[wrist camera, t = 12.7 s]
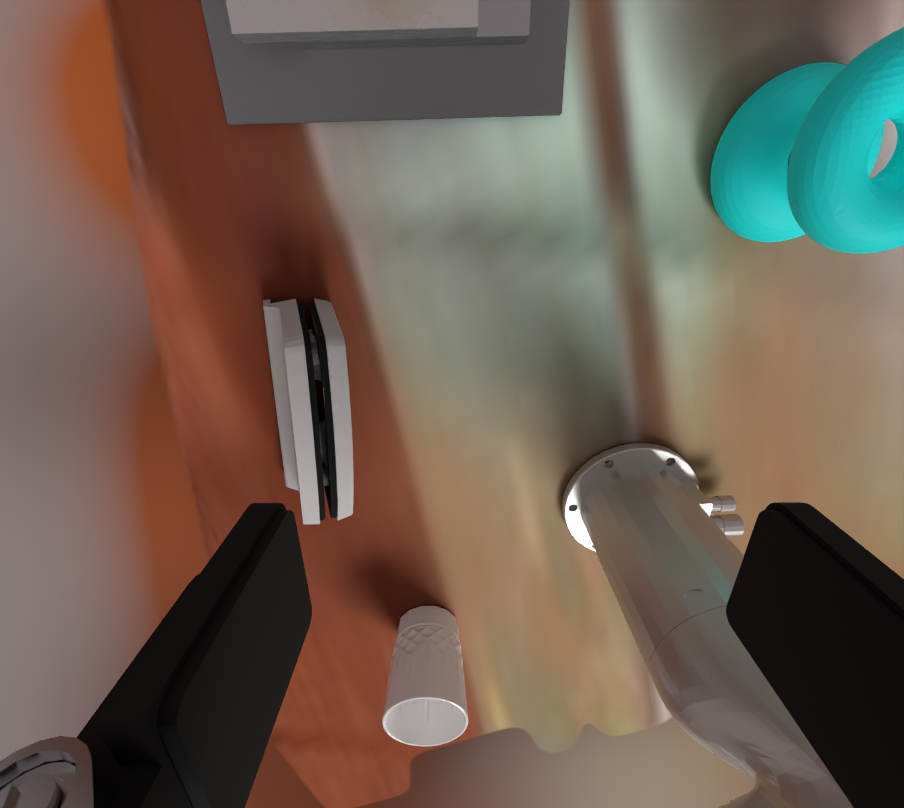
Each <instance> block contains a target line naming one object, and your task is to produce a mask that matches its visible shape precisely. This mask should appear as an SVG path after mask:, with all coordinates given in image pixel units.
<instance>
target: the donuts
mask: <svg viewBox="0 0 904 808" xmlns="http://www.w3.org/2000/svg"><path fill="white" fill-rule="evenodd" d="M887 119H890V120H892V121H893V123H894V124H895V126H896V128H897V133H898V140H897V145H896V149H895V152H894V154H893V156H892V158H891V160H890V161H889V163H888V164H887V165H886V167H885V168H884V169H883V170H882V171H881V172H880V173H879V174H878V175H876V176H875V177H874V178H872V179H870V177H869V175H870V173H871V171H872V169H873V167H874V165H875V163H876V160H877V158H878V155H879V152H880V149H881V145H882V140H883V134H884V122H885V121H886V120H887ZM791 151H792V152H791ZM790 153H791V155H790ZM789 156H790V160H789V165H788V159H789ZM710 189H711V196H712V200H713V204H714V207H715V209H716V211H717V214H718V215H719V217H720V219H721V220H722V221H723V223H724V224H725V225H726V226H727V227H728V228H729V229H731V230H732V231H733V232H735V233H736V234H738V235H740V236H742V237H744V238H746V239H750V240H754V241H760V242H778V241H784V240H789V239H793V238H796V237H799V236H802V235H804V234H807V235H808V236H809V237H810V238H811V239H812V240H814V241H815V242H817V243H819V244H820V245H823V246H825V247H827V248H829V249H832V250H835V251H840V252H846V253H857V254H863V253H874V252H880V251H886V250H890V249H894V248H897V247H900V246H903V245H904V28H902V29H899V30H897V31H895V32H893V33H891V34H890V35H888V36H886V37H884V38H883V39H881V40H880V41H878V42H876V43H875V44H873V45H872V46H870V47H869V48H867V49H866V50H865V51H863V52H862V53H861V54H859V55H858V56H857V57H856V58H855V59H853V60H852V61H851V62H850V63H849V64H848V65H844V64H840V63H834V62H819V63H811V64H806V65H802V66H799V67H796V68H794V69H791V70H789V71H786V72H784V73H782V74H780V75H778V76H777V77H775V78H773V79H772V80H770V81H769V82H767V83H766V84H764V85H763V86H762V87H761V88H759V89H758V90H757V91H756V92H755V93H753V94H752V95H751V96H750V97H749V98H748V99H747V100H746V101H745V102H744V103H743V104H742V106H741V107H740V108H739V109H738V110H737V112H736V113H735V114H734V116H733V117H732V119H731V120H730V122H729V123H728V125H727V127H726V128H725V130H724V132H723V134H722V136H721V138H720V140H719V143H718V145H717V148H716V151H715V154H714V158H713V162H712V167H711V175H710Z"/></svg>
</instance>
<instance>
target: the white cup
mask: <svg viewBox="0 0 904 808" xmlns="http://www.w3.org/2000/svg"><path fill="white" fill-rule="evenodd" d="M382 723H383V727H384V729H385V731H386V732H387V734H388V735H389V736H391V737H392V738H394V739H395V740H397V741H399V742H402V743H405V744H408V745H414V746H435V745H440V744H444V743H447V742H450V741H452V740H454V739H456V738H457V737H459V736H460V735H461V734H462V733H463V732H464V731H465V729H466V728H467V725H468V713H467V703H466V692H465V681H464V671H463V662H462V654H461V645H460V642H459V630H458V624H457V621H456V618H455V616H454V615H452V614H451V613H450V612H449V611H448V610H446V609H443V608H440V607H437V606H419V607H416V608H413V609H411V610H409V611H407V612H406V613H405V614H404V615H403V616H402V617H401V618H400V622H399V625H398V630H397V637H396V643H395V645H394V650H393V656H392V662H391V669H390V673H389V680H388V687H387V694H386V700H385V707H384V714H383V721H382Z"/></svg>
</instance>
